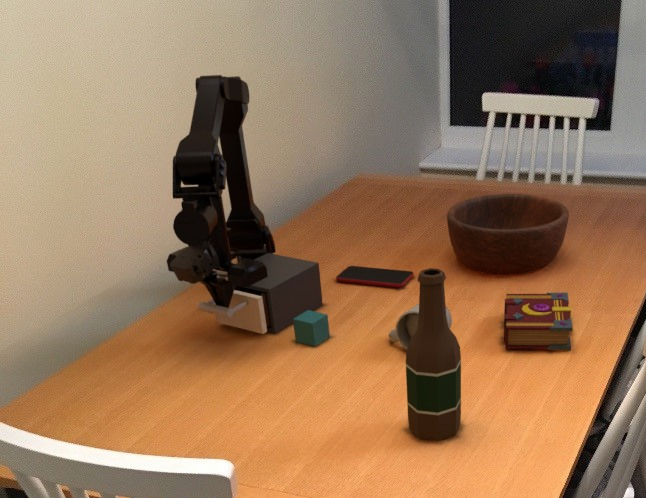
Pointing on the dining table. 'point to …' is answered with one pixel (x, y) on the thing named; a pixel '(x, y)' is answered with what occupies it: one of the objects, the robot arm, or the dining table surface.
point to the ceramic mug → (410, 326)
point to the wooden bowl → (507, 232)
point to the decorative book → (537, 321)
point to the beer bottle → (433, 365)
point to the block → (311, 328)
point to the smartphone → (375, 276)
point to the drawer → (242, 310)
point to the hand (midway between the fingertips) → (224, 312)
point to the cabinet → (289, 288)
